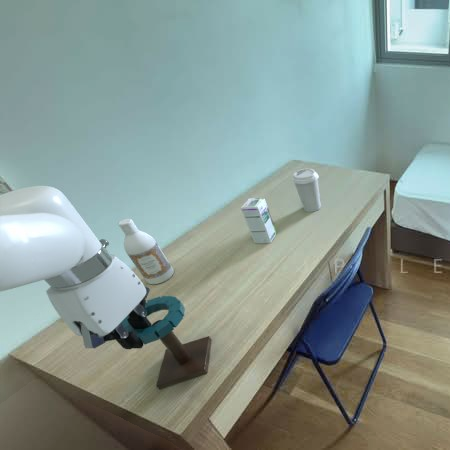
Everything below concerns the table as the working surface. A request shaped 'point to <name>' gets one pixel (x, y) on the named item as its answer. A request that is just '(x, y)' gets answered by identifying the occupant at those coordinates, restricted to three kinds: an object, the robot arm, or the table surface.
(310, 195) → the coffee cup
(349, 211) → the table surface
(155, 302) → the ring
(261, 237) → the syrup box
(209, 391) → the table surface
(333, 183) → the table surface
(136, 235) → the bath foam
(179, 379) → the stand
